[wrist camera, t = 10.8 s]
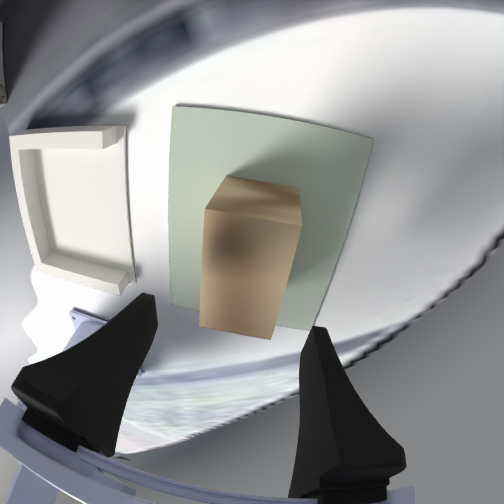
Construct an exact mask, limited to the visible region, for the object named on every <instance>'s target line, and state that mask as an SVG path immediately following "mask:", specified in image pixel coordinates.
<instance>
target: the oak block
mask: <svg viewBox="0 0 504 504" xmlns="http://www.w3.org/2000/svg"><path fill="white" fill-rule="evenodd" d="M301 229H302V217H301V204H300V192H299V188H295V187H290V186H285V185H279V184H274V183H268V182H263V181H257V180H251V179H245V178H239V177H233V176H226V177H225V178H224V180H223V181H222V183H221V184H220V186H219V187H218V189H217V190H216V192H215V193H214V195H213V197H212V198H211V200H210V201H209V203H208V204H207V206H206V207H205V212H204V227H203V244H202V264H201V289H200V326H201V327H206V328H210V329H215V330H220V331H225V332H230V333H235V334H241V335H246V336H252V337H257V338H263V339H269V340H271V337H272V334H273V331H274V327H275V324H276V320H277V317H278V314H279V310H280V307H281V303H282V300H283V296H284V292H285V289H286V285H287V282H288V278H289V274H290V271H291V267H292V263H293V259H294V256H295V252H296V248H297V244H298V240H299V236H300V233H301Z"/></svg>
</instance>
